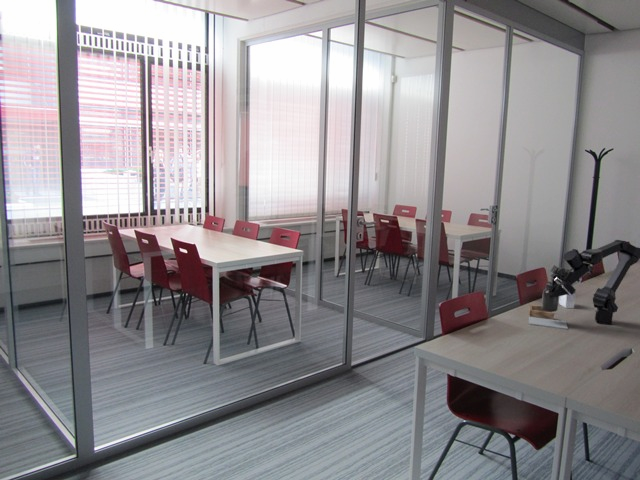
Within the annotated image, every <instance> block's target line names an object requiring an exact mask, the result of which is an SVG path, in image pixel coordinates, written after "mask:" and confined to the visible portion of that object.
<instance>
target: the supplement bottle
mask: <svg viewBox="0 0 640 480" xmlns="http://www.w3.org/2000/svg"><path fill="white" fill-rule="evenodd" d="M556 289H557V284H553V283H551V282H550V283H549V282H548V283H545V289H543V291H542V295H541V296H542V299H541V306H542V309H543V310H545V311H549V312H552V313H555V312H557V311H558V309H559V297H560V296H558V297H554V298H550V297H549V296H550V295H551V294H552V293H553V292H554V291H555V290H556Z"/></svg>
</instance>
